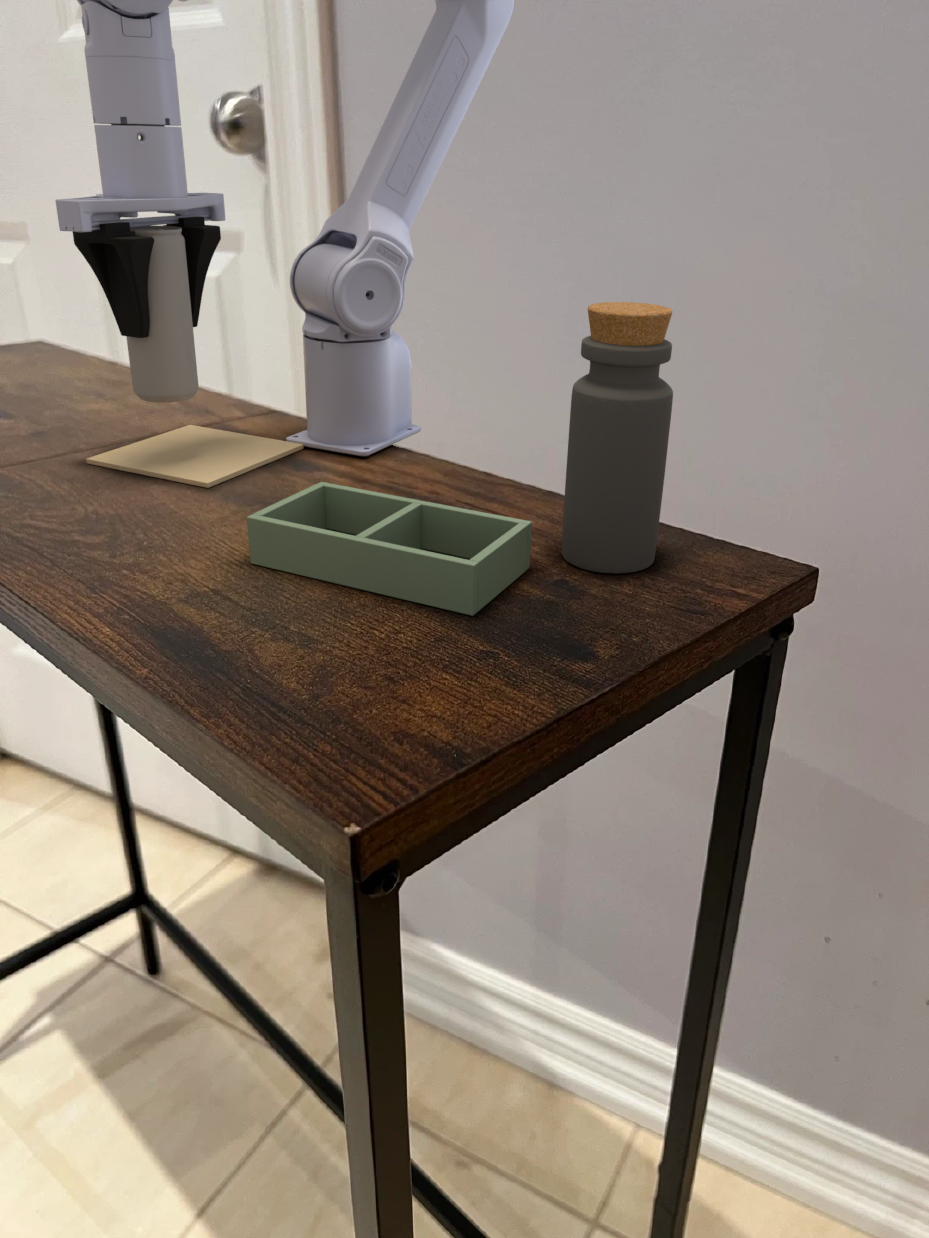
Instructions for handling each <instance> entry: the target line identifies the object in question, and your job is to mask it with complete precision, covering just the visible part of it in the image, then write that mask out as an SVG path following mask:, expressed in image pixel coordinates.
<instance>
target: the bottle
mask: <svg viewBox="0 0 929 1238" xmlns="http://www.w3.org/2000/svg"><path fill="white" fill-rule="evenodd" d="M587 315H588V316H587V317H588V323H589V332H590V335H588V336H585V337H584V338H582V340H581V345H580V356H581V357H582V358H583V359H585V360H587V361H589V370H588V371H589V372H588V373H587V374H585V375H583V376H582V377H580V378H578V379H577V380H576V381H575V382H574V384H573V385H572V390H571V400H570V410H569V411H570V412H569V427H568V439H567V456H566V470H565V471H566V472H565V482H564V483H565V485H564V499H563V512H562V513H563V515H562V529H561V556H562V557H563V559H564V560H565V561H566V562H567V563H569V564H571V565H572V566H574V567H578V568H580V569H582V570H586V571H589V572H596V573H601V574H614V575H615V574H616V575H617V574H628V573H629V574H630V573H635V572H639V571H643V570H646V569H648V568H649V567H651V565H653V564H654V561H655V557H656V551H657V543H658V537H659V536H658V535H659V527H660V518H661V509H662V502H663V501H662V500H663V493H664V484H665V475H666V466H667V457H668V447H669V438H670V430H671V429H670V428H671V421H672V412H673V401H674V390H673V388H672V386H671V385H670V384H669V383H668V382H666V380H664V379H663V378H661V377H660V368H661V365H664V364H667V363H668V362H670V361H671V358H672V352H673V351H672V350H673V344H672V342H671V341H669V340H668V339H665V338H666V335H667V331H668V328H669V325H670V322H671V318H672V316H673V310H672V309H671V308H670V307H668V306H664V305H660V304H653V303H648V302H647V303H646V302H632V301H631V302H630V301H606V302H597V303H593V304H590V305H588V307H587Z"/></svg>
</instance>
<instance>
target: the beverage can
mask: <svg viewBox="0 0 929 1238" xmlns="http://www.w3.org/2000/svg"><path fill="white" fill-rule="evenodd" d="M130 231H135V235H136V236H149V237H153V238H154V240H155V241H154V244H153V249H152V253H151V258H150V264H149V274H148V302H149V317H150V327H149V337H145V338H136V337H128V336H125V337H126V344H127V352H128V360H129V368H130V377H131V385H132V391H133V393H134V394H135V395H136V396H137V398H139V399H140V400H141V401H143V402H148V403H157V404H159V403H160V404H161V403H162V404H166V403H179V402H184V401H188V400H191V399H192V398H194V397H195V396H196V394H197V393H198V391H199V377H198V365H197V357H196V356H197V355H196V346H195V335H194V334H195V333H194V327H193V323H192V312H191V302H190V291H189V281H188V270H187V260H186V249H185V239H184V237H183V236H182V234H181V232H182V228H180V227H174V226H163V225H150V226H138V227H130Z"/></svg>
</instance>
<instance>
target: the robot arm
mask: <svg viewBox="0 0 929 1238" xmlns="http://www.w3.org/2000/svg"><path fill="white" fill-rule="evenodd" d="M76 1H77V3H78V4H79V5H80V7H81V14H82V15H81V23H82V29H83V31H84V38H85V40H84V41H85V45H84V49H83V50H84V57H85V58H84V59H85V66H86V67H85V68H86V74H87V81H88V89H89V97H90V104H91V111H92V112H91V113H92V120H93V124H94V126H93V127H94V128H93V129H94V134H95V143H96V151H97V159H98V167H99V174H100V182H101V191H102V193H96V194H95V195H91V196H83V197H71V198H55V201H54V202H55V208H56V214H57V215H56V216H57V221H58V228H59V231H60V232H72V238H73V245H74V246H75V247H76V249H77V250H78V251H79V252H80V253H81V255H82V257H83V258H84V259H85V260H86V263H87V264H88V265H89V267H90V268H91V270H92V272H93V273H94V275H95V277H96V278H97V280H98V282H99V284H100V286H101V288H102V290H103V293H104V295H105V297H106V299H107V302H108V304H109V307H110V309H111V312H112V314H113V317H114V319H115V322H116V326H117V328H118V330H119V333H120V335H121V336H122V337H126V336H128V337H136V338H145V337H149V327H150V317H149V302H148V274H149V264H150V258H151V253H152V249H153V244H154V241H155V240H154V238H153V237H149V236H136V235H135V231H130V227H138V226H174V227H180V228H182V232H181V234H182V236H183V237H184V239H185V249H186V260H187V270H188V281H189V291H190V302H191V312H192V323H193V328H197V327H198V326H199V325H198V323H199V318H200V311H201V304H202V298H203V294H204V287H205V283H206V282H205V281H206V278H207V274H208V271H209V268H210V264H211V262H212V259H213V256H214V254H215V252H216V250H217V247H218V246H219V244H220V242H221V240H222V234H221V227H220V225H214V224H212V225H211V224H205V222H224V221H226V209H225V197H224V196H225V195H224V193H220V192H219V193H218V192H188V182H187V172H186V171H187V170H186V160H185V149H184V140H183V138H184V137H183V128H182V127H181V126H182V119H181V118H182V117H181V109H180V97H179V87H178V75H177V65H176V55H175V50H174V48H173V40H172V39H173V37H172V27H171V20H170V19H171V16H170V8H169V7H170V6H171V4H172V3H173V1H174V0H76ZM178 1H179V2H188V1H189V0H178ZM434 2H435V7H436V8H435V11H434V13H433V16H432V18H431V20H430V22H429V24H428V26H427V27H426V30H425V32H424V34H423V36H422V39H421V40H420V43H419V45H418V48H417V49H416V52H415V54H414V55H413V58H412V61H411V62H410V64H409V67H408V69H407V71H406V73H405V75H404V78H403V80H402V82H401V84H400V86H399V88H398V90H397V93H396V95H395V97H394V99H393V101H392V103H391V106H390V108H389V110H388V112H387V114H386V116H385V118H384V120H383V122H382V124H381V127H380V129H379V132H378V134H377V135H376V138H375V140H374V142H373V144H372V146H371V149H370V151H369V153H368V156H367V157H366V159H365V161H364V163H363V166H362V168H361V170H360V172H359V174H358V176H357V178H356V181H355V182H354V185H353V187H352V188H351V189H352V190H351V191H350V194H349V196H348V198H347V199H346V200H345V202H344V203H342V204H341V206H339V207H338V208H337V209H336V210H335V211H334V212H333V213H332V214H331V215H330V216H328V218H327V219H326V220H325V221H324V223H323V226H322V228H321V230H320V232H319V233H318V235H317V236H316V238H315V239H314V240H312V242H311V243H310V244H308V245H307V246H305V247H304V248H303V249H301V251H300V252H299V253H297V255H296V257H295V259H294V261H293V263H292V265H291V267H290V271H289V272H290V273H289V286H290V292H291V295H292V298H293V300H294V302H295V304H296V306H298V307H299V309H300V310H301V311H302V312H303V313H304V315H305V316H304V317H305V318H304V321H303V324H302V327H301V332H302V348H303V349H302V352H303V372H304V389H305V391H304V392H305V411H306V429H304V430H301V431H299V432H297V433H294V434H292V435H288V436H287V437H286V438H285V441H287V442H293V443H299V444H303V447H306V448H311V449H317V450H323V451H328V452H335V453H341V454H346V455H352V456H358V457H369V456H370V455H372V454H375V453H377V452H379V451H381V450H383V449H385V448H388V447H390V446H392V445H395V444H396V443H399V442H400V441H402V440H405V439H407V438H409V437H411V436H413V435H415V434H418V433H420V432H421V431H422V427H421V426H420V425H418V424H413V372H412V371H413V362H412V356H411V351H410V350H409V347H408V345H407V343H406V341H405V340H404V338H403V337H402V336H401V335H400V334H399V333H398V332H396V331H394V330H393V328H392V326H393V325H394V324H395V323H396V321H397V320H398V319H399V316H400V315H401V313H402V310H403V307H404V305H405V304H404V303H405V296H406V280H407V276H408V273H409V271H410V268H411V266H412V264H413V262H414V259H415V255H414V249H413V244H412V239H411V234H410V232H411V229H412V226H413V224H414V222H415V220H416V217H418V214H419V212H420V209H421V207H422V205H423V203H424V201H425V199H426V197H427V195H428V193H429V190H430V189H431V187H432V184H433V182H434V180H435V178H436V176H437V174H438V172H439V170H440V167H441V165H442V163H443V161H444V159H445V157H446V155H447V153H448V151H449V149H450V146H451V145H452V142H453V140H454V138H455V136H456V134H457V132H458V130H459V128H460V126H461V124H462V122H463V119H464V117H465V116H466V114H467V111H468V109H469V107H470V105H471V103H472V101H473V100H474V97H475V95H476V93H477V91H478V89H479V86H480V84H481V82H482V80H483V78H484V75H485V73H486V71H487V69H488V68H489V65H490V64H491V62H492V59H493V57H494V56H495V53H496V50H497V48H498V47H499V45H500V43H501V40H502V39H503V37H504V34H505V32H506V29H507V28H508V26H509V24H510V21H511V18H512V15H513V12H514V6H515V0H434ZM139 138H140V139H139ZM146 212H147V213H149V212H151V213H153V212H156V213H157V214H170V215H161V216H159V215H158V216H147V217H146V216H145V217H139V213H146ZM171 214H172V215H171Z"/></svg>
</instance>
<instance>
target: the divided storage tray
mask: <svg viewBox="0 0 929 1238" xmlns="http://www.w3.org/2000/svg"><path fill="white" fill-rule="evenodd" d="M246 524H247V538H248V549H249V550H248V552H249V562H250V564H251V565H255V566H260V567H265V568H268V569H273V570H278V571H281V572H285V573H289V574H294V575H298V576H303V577H307V578H311V579H316V580H319V581H324V582H327V583H332V584H336V585H339V586H344V587H349V588H353V589H358V590H361V591H366V592H370V593H375V594H378V595H382V596H387V597H392V598H395V599H400V600H403V601H408V602H413V603H417V604H421V605H424V606H430V607H433V608H437V609H441V610H446V611H451V612H455V613H459V614H462V615H463V614H464V615H468V616H472V617H473V616H475V615H476V614H477V613H478V612H479V611H481V610H482V609H483V608H484V607H485V606H487V605H488V604H489V603H490V602H491V601H492V600H493V599H495V598H496V597H497V596H498V595H499V594H500V593H502V592H503V591H504V590H505V589H506V588H508V587H509V586H510V585H511V584H512V583H514V582H515V581H516V580H517V579H518V578H519V577H520V576H522V575H523V574H524V573H525V572H526V571H528V570H529V569H530V566H531V551H532V550H531V549H532V534H533V533H532V530H533V522H532V520H526V519H525V520H524V519H520V518H515V517H511V516H505V515H500V514H494V513H489V512H484V511H479V510H473V509H469V508H468V509H467V508H463V507H457V506H452V505H447V504H443V503H437V502H431V501H425V500H420V499H415V498H409V497H405V496H400V495H394V494H389V493H383V492H378V491H373V490H368V489H362V488H357V487H352V486H346V485H342V484H341V485H340V484H336V483H330V482H325V481H319V482H318V483H315V484H313V485H311V486H309V487H307V488H304V489H302V490H301V491H298V492H297V493H293V494H292V495H290V496H288V497H286V498H284V499H281V500H279V501H277V502H275V503H273V504H270V505H268V506H266V507H264V508H262V509H260V510H258V511H256V512H253V513H252V514H250V515H247V516H246Z"/></svg>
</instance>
